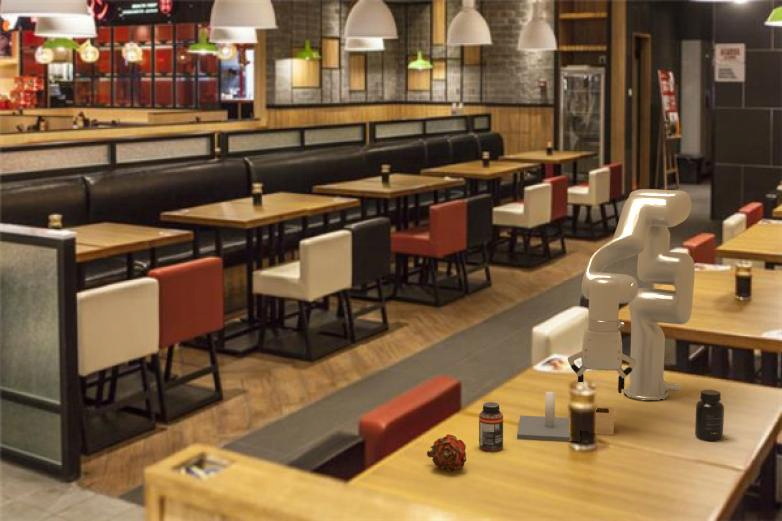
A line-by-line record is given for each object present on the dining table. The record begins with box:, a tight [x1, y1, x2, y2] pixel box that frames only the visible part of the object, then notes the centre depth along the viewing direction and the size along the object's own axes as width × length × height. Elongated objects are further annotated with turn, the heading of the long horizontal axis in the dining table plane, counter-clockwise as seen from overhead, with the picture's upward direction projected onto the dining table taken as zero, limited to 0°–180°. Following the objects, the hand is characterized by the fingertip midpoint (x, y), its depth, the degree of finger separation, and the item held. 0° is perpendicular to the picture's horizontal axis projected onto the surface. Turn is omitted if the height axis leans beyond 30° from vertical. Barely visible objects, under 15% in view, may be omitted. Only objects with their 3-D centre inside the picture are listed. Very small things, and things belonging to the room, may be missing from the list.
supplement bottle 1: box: [478, 401, 504, 453], centre depth 248 cm, size 6×6×11 cm
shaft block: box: [516, 390, 570, 443], centre depth 262 cm, size 16×16×10 cm
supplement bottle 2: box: [694, 389, 725, 442], centre depth 255 cm, size 7×7×12 cm
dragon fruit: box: [426, 433, 467, 472], centre depth 236 cm, size 8×8×12 cm
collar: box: [595, 406, 615, 436], centre depth 262 cm, size 6×6×6 cm
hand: (600, 391), depth 260 cm, fingers open, 9 cm apart
